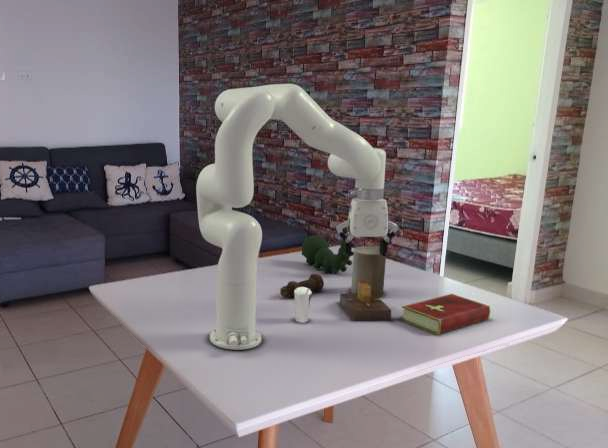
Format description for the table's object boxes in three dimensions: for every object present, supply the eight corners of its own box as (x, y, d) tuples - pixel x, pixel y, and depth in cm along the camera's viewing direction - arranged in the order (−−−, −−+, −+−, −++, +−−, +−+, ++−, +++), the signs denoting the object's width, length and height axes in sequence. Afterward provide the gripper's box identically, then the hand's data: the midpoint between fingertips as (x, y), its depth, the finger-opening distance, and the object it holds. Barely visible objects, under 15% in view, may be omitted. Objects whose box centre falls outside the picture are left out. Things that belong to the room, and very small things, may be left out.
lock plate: (390, 320, 151) (391, 309, 151) (353, 320, 151) (354, 309, 150) (373, 302, 165) (374, 292, 164) (339, 302, 165) (340, 292, 164)
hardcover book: (489, 320, 152) (491, 305, 151) (439, 335, 142) (440, 319, 141) (450, 306, 162) (451, 292, 161) (400, 319, 152) (402, 305, 151)
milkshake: (298, 325, 147) (300, 289, 145) (290, 318, 152) (291, 282, 150) (314, 323, 148) (316, 287, 146) (305, 316, 153) (307, 281, 151)
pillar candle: (390, 295, 171) (393, 248, 168) (363, 299, 168) (366, 250, 165) (369, 286, 180) (373, 240, 177) (344, 289, 177) (347, 243, 173)
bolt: (280, 303, 168) (315, 292, 177) (291, 299, 164) (326, 288, 173) (274, 285, 170) (309, 275, 178) (284, 280, 166) (319, 271, 174)
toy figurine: (356, 280, 192) (309, 257, 213) (363, 227, 187) (314, 208, 207) (335, 284, 187) (289, 260, 208) (342, 229, 182) (294, 210, 203)
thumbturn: (370, 302, 156) (371, 286, 155) (362, 302, 156) (364, 286, 155) (364, 296, 161) (365, 281, 160) (357, 296, 161) (358, 281, 160)
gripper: (341, 196, 148) (338, 259, 152) (405, 196, 149) (401, 258, 153) (333, 192, 156) (331, 252, 159) (395, 192, 156) (391, 251, 160)
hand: (365, 255), depth 156 cm, fingers open, 9 cm apart
